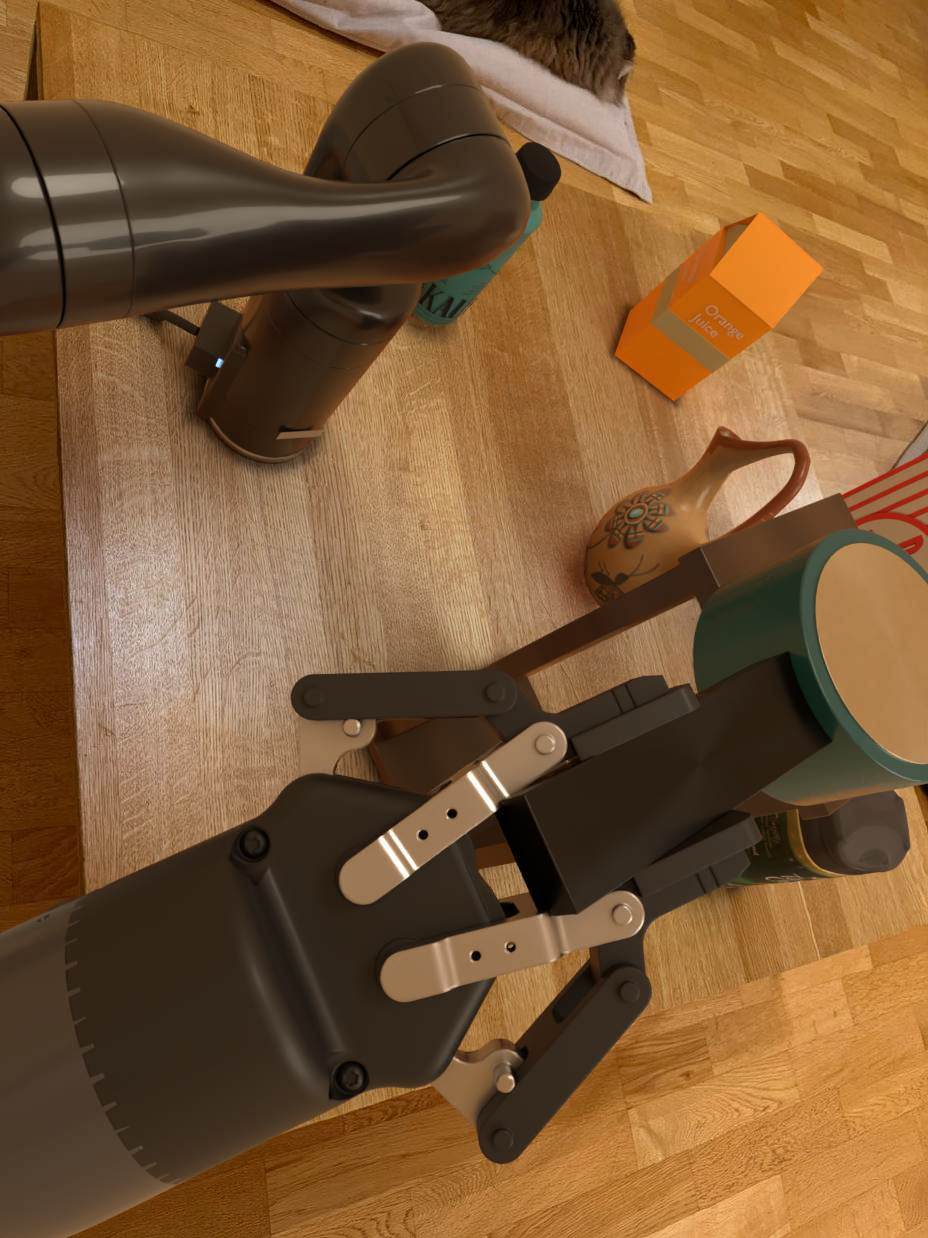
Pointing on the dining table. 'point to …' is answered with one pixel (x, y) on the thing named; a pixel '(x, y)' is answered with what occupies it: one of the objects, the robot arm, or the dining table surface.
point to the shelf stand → (448, 745)
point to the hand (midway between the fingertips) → (714, 759)
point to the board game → (896, 507)
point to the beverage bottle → (456, 293)
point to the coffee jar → (829, 842)
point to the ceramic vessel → (678, 515)
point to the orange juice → (715, 304)
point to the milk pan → (749, 720)
